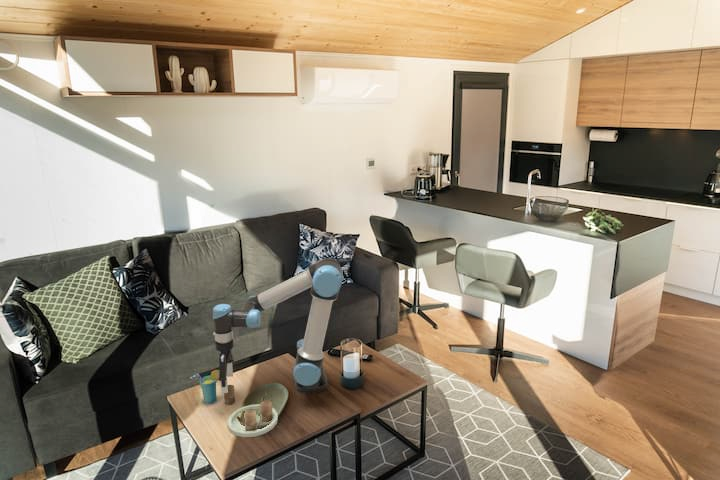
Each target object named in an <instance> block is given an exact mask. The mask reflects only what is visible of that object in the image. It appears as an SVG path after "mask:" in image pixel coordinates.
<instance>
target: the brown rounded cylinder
mask: <svg viewBox="0 0 720 480" xmlns="http://www.w3.org/2000/svg"><path fill="white" fill-rule="evenodd" d="M259 404H260V406H261V419H262V422H269V421H271V420H272V419H273V414H272V408H273V404H272V401H270V400H263V401H261V402H260V403H259Z"/></svg>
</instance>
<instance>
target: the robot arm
mask: <svg viewBox="0 0 720 480" xmlns="http://www.w3.org/2000/svg"><path fill="white" fill-rule="evenodd" d="M342 272H343V271H342V266H341V265H340V263H339V262H338V261H337V260H336V259H333V258H331V257H330V258H329V257H328V258H327V257H326V258H322V259H320V260H318V261H316V262H314V263H313V264H311V265H309V266H307V268H306V270H305V271H301V272H300V273H297V275H294V276H293V277H290V278H289V279H287V280H284V281H282V282H281V283H279V284H277V285H275V286H273V287H270V288H269V289H267V290H264V291H263V292H261V293H258V294H257V295H251V296H249V297H247V298H246V299H245V301H244V303H243V305H242V307H241V308H240V309H232V306H231V305H230V304H227V303H220V304H216V305H215V306H214V307H213V309H212V310H213V311H212V320H213V329H214V330H213V331H214V332H213V333H212V335H213V336H214V340H215V342H214V344H215V345H214V346H215V350H216V351H217V352H219V357H218V360H219V361H218V362H219V364H218V365H219V366H218V367H219V368H218V369H219V378H218V381H219V382H220V392H221V394H224V393H228V385H229V384H228V378H229V377H234V370H233V368H234V367H233V363H234V362H235V361H234V360H235V359H234V357H233V353H232V352H233V351H232V350H233V348H234V346H235V345H234V332H233V328H247V329H248V328H249V329H252V328H258V327H260V325H261V321H262V320H261V319H262V317H261V315H262V314H261V313H262V312H264V311H266V310H268V309H269V308H272V307H273V306H275V305H278V304H279V303H282V302H284V301H286V300H288V299H290V298H292V297H294V296H296V295H298V294H300V293H302V292H304V291H306V290H308V289H310V295H311V296H312V300H311V304H310V310H309V313H308V314H309V315H308V319H307V323H306V329H305V333H304V337H303V338H301V339H299V340H298V341H296V349H297V350H296V352H297V353H296V358H295V363H294V367H293V370H292V373H293V374H292V375H293V378H294V380H295V381H294V386H295V389H296V390H297V392H300V393H307V394H308V393H315V394H317V393H321V392H323V391H324V390H326V388H327V387H328V378H327V376H326V372H325V370H324V359H325V353H324V351H323V346H324V343H325V338H326V333H327V329H328V325H329V320H330V316H331V311H332V306H333V303H334V302H335V301H336V300H337V299H338V296H339V293H340V289H341V287H342V283H343V275H342V274H343V273H342Z"/></svg>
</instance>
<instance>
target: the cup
mask: <svg viewBox="0 0 720 480" xmlns="http://www.w3.org/2000/svg"><path fill="white" fill-rule="evenodd" d="M196 377H198V379H199V385H200V386H201V392H202V397H203V400H204V404H206V405H211V404H214V403H216V402H217V383H218V382H217V381H219V380H218V378H219V370H218V369H215V370H213V371H211V373H210V375H204V376H202V377H201V375H200V374H198V373H196V374H194V375H193V376H190V377H189V379H190V380H192V379H194V378H196Z"/></svg>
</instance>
